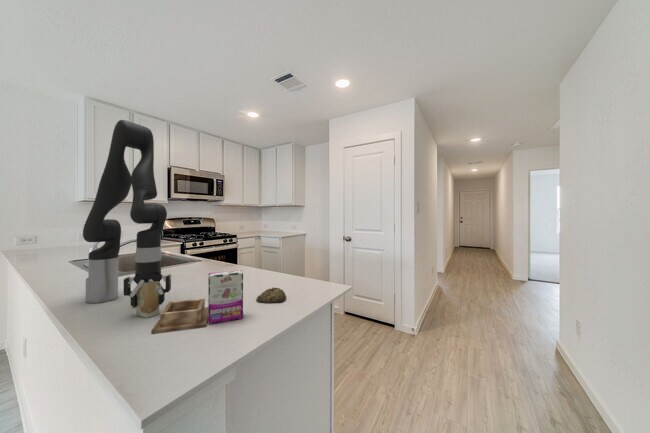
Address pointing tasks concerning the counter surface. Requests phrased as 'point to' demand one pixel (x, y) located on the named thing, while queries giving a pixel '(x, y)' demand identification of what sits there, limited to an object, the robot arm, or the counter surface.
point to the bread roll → (272, 296)
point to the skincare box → (148, 300)
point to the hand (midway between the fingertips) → (147, 305)
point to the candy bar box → (225, 296)
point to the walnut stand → (182, 316)
